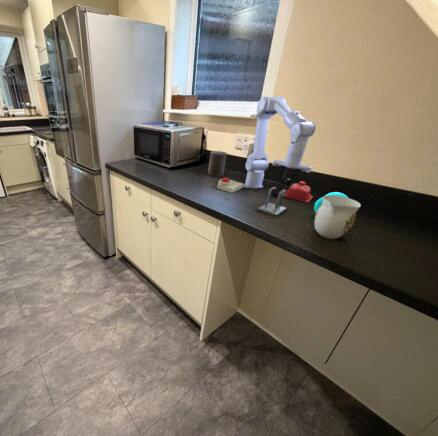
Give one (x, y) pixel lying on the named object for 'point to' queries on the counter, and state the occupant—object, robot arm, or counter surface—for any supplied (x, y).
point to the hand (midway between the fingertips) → (285, 184)
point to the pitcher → (335, 216)
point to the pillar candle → (217, 163)
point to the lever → (276, 191)
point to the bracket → (273, 208)
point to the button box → (230, 185)
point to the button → (225, 179)
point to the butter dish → (299, 192)
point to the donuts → (320, 201)
